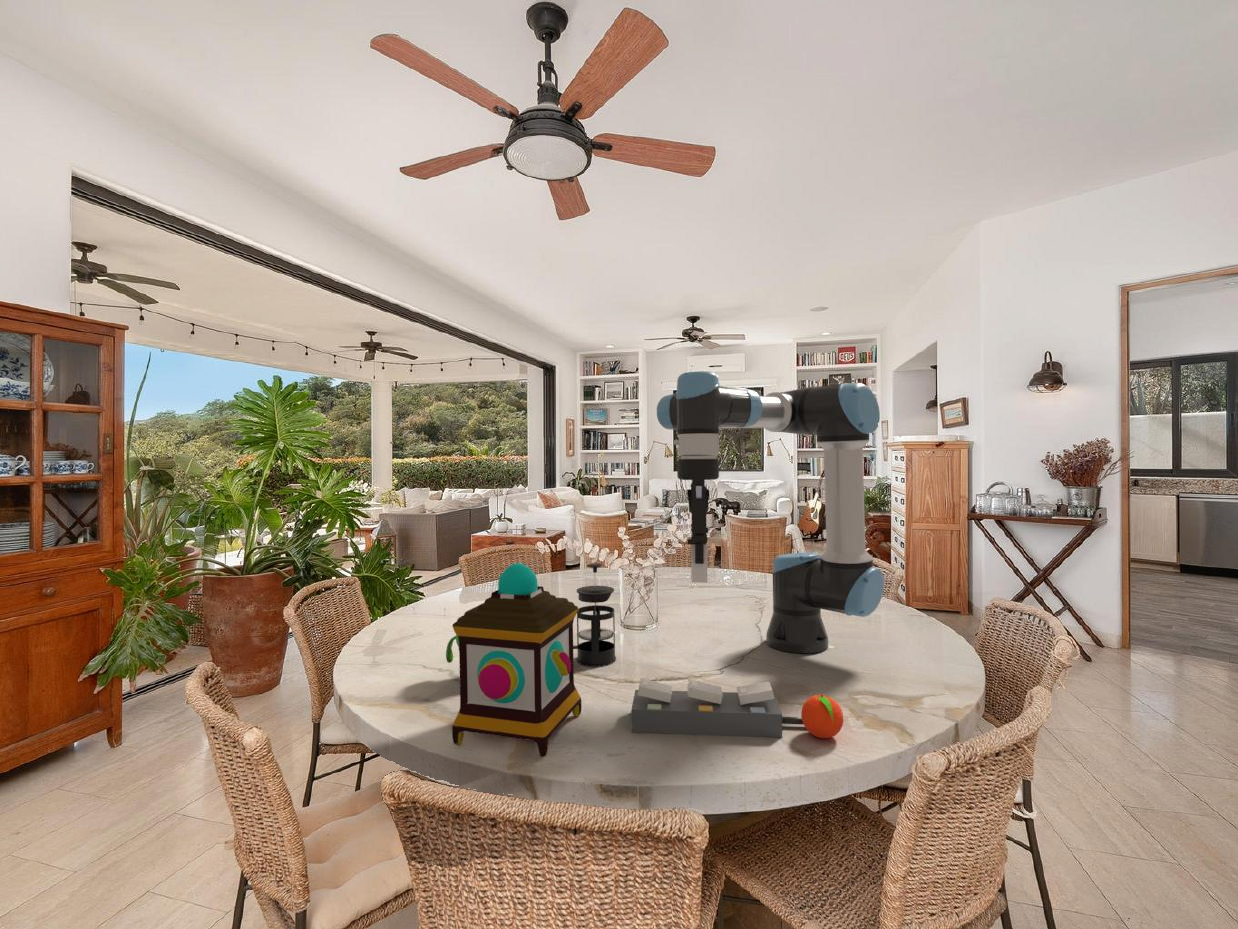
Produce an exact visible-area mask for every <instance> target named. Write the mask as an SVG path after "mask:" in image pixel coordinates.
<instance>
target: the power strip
mask: <svg viewBox="0 0 1238 929" xmlns="http://www.w3.org/2000/svg"><path fill="white" fill-rule="evenodd" d="M722 694H723V697H722V702H721V704H718V703H713V702H709V701H705V700H701V699H697V698H692V697H688V690H672V696H671V701H670V703H669V702H665V701H661V700H657V699H652V698H648V697H644V696H640V695H638V689H635V690H634V695H633V699H632V706H631V711H630V712H631V733H645V734H646V733H647V734H670V735H671V734H674V735H675V734H676V735H678V734H679V735H700V736H701V735H704V736H705V735H706V736H727V737H728V736H730V737H733V736H734V737H735V736H736V737H756V738H757V737H762V738H765V737H766V738H783V725H803V726H804V724H803V721H802V717H801V716H800V717H799V716H783V713H782V711H781V708H780V705H779V702H778V700H777V697H776V695H775V693H773V695H774V699H771V700H765V701H760V702H754V703H748V704H743V705H741V704H740V700H739V695H738V692H735V691H734V692H727V691H722Z"/></svg>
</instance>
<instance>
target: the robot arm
mask: <svg viewBox="0 0 1238 929" xmlns="http://www.w3.org/2000/svg"><path fill="white" fill-rule="evenodd" d="M676 383H677V384H676V393H674V392H673V393H671V394H668V395H664V396H662V397H661V398H660V400H659V401H658V403H657V406H656V418H657V421H658V423H659V425H660V426H661V427H663V428H664V429H666V430H674V431H677V432H676V433H677V438H678V439H674V441H673V445H674V446H677V456H678V457H680V459H678V461H676V462H677V463H676V464H677V465H676V467H677V468H676V469H677V470H676V471H677V474H676V476H677V479H678V480H683V481H691V484H690V489H687V493H686V494H687V495H686V496H687V501H688V512H689V513H691V524H690V527H691V528H690V531H691V533H690V537H691V538H687V545H690V551H691V553H690V554H691V555H690V562H691V564H690V565H691V567H690V568H691V570H690V571H691V583H700V584H701V583H704V584H705V583H708V544H707V543H708V540H709V539H708V535H707V534H708V533H709V527H707V513H708V512H709V501H710V489H708V488H707V486H706V484H705V483H706V482H705V481H707V480H708V481H711V480H712V481H714V480H717V479H719V477H720V465H719V464H720V460H718V458H717V456H719V455H720V432H719V429H765V430H766V431H768V432H770V433H772V432H773V433H786V434H795V435H801V436H802V435H803V436H816V444H817V445H818V446H820V448H822V449H823V466H824V467H823V468H824V470H823V471H824V498H825V499H824V500H825V503H824V504H825V506H824V507H825V532H826V533H825V534H826V537H825V538H826V539H825V540H826V541H825V542H826V550H825V551H824V552H823V553H822V554H820V553H819V552H809V551H807V552H794V553H793V552H792V553H786V554H780V555H778V556H777V555H776V556H775V558H774V559H773V561H772V571H771V574H772V615H771V618H770V620H769V625H768V627H767V630H766V634H765V636H766V637H765V639H766V640H765V641H766V644H767V645H768V646H769V647H771V648H773V649H775V650H779V651H782V652H785V653H795V654H815V653H820V652H824V651H826V650H827V649H828V648H829V636H828V633H827V631H826V627H825V624H824V621H823V618H822V616H821V615H822V614H821V613H822V612H821V610H825V611H829V612H834V613H839V614H844V615H846V616H849V617H850V616H855V617H861V618H862V617H863V618H865V617H867V616H870V615H871V614H873V613H874V612H875V611H876V609H877V608H878V606H879V604H880V603H881V600H882V598H883V595H884V590H885V589H884V587H885V578H884V575H883V572H882V569H881V570H880V568H878V567H876V566H874V563H873V562H874V560H873V556H872V555H871V554H870V553H869V552H868V551H867V550H866V520H865V519H866V517H865V488H864V487H865V485H864V479H865V478H864V458H863V457H864V453H863V452H864V450H863V449H864V448H865V446H866V445H867V444H868V443H869V442H870V434H873V433H874V432H876V430H877V429H878V427H879V423H880V417H881V416H880V415H881V413H880V407H879V403H878V400H877V398H876V395H875V393H874V392H873V390H872V389H871V388H870V387H869V386H867V385H866V384H864V383H859V382H854V383H853V382H851V383H848V382H843V383H840V384H838V383H837V384H828V385H821V386H813V387H812V386H808V387H803V388H797V389H793V390H788V391H781V392H777V391H776V392H774V391H773V392H770V393H768V394H766V395H759V394H758V392H756V390H753V389H749V388H745V387H735V386H733V387H731V386H721V385H720V382H719V376H718V374H717V373H715V372H713V371H703V370H702V371H688V372H683V373H681V374H679V376H678V377H677V382H676Z"/></svg>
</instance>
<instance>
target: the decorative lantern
mask: <svg viewBox="0 0 1238 929" xmlns="http://www.w3.org/2000/svg"><path fill="white" fill-rule="evenodd" d="M497 584H498V586H497V587H498V588H497V590H494V591H493V592H491V596H490V597H488V598H486V599H485V600H484V602H483V603H481V604H478V605H477V606H475V607H473V608H471V609H468V610H467V611H465V612H464V614H463V615H461V616H459V617H457V620H456V621H454V622H453V623H452V626H451V627H452V629H453V631H454V633H455V636H456V635H457V637H458V639H459V646H458V647H459V648H458V653H459V655H458V656H459V660H458V662H459V699H460V700H459V701H460V702H459V704H460V705H459V710H458V713H457V714H456V717H455V719H454V721H453V724H452V727H451V737H452V742H453V744H454V745H456V746H459V745H461V744H462V743H463V740H464V732H466V733H475V734H480V735H489V736H496V737H504V738H512V739H516V740H517V739H518V740H525V741H526V740H527V741H530V742H533V743H535V744H536V746H537V750H538V755H539V757H540V758H545V757H546V755H547V753H548V746H549V739H550V737H551V736H552V735H553V734H554V733H555V731H556V730H557V729H558V728H559V727H560V726H561V725H562V723H563V722H564V721H565V720H566V719H567V717H568V716H570V714H571V713H572V715H573V716H574V717H576V718H578V717H579V716H580V715H581V714H582V697H581V696H580V695H581V694H580V693H579V691H578V690H577V687H576V686H575V674H574V672H575V668H574V665H575V664H574V663H575V662H574V649H573V646H574V620H575V618H576V617H577V611H578V609H579V606H577V605H575V603H574V602H572V601H569V599H568V598H566V597H557V596H556V595H553V594H551V593H550V591H547V590H545V589H544V586H542V585H541V586H540V585H538V578H537V575H536V573H535V572H534V571H533V570H532V569H531V568H530V567H529V566H527V565H526V564H525V563H524V564H523V563H520V562H515V563H513V564H511V565H509V566H508V567H507V568H505V570H504V571H503V572H502V573H501V574H500V576H499V577H498V583H497Z"/></svg>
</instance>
